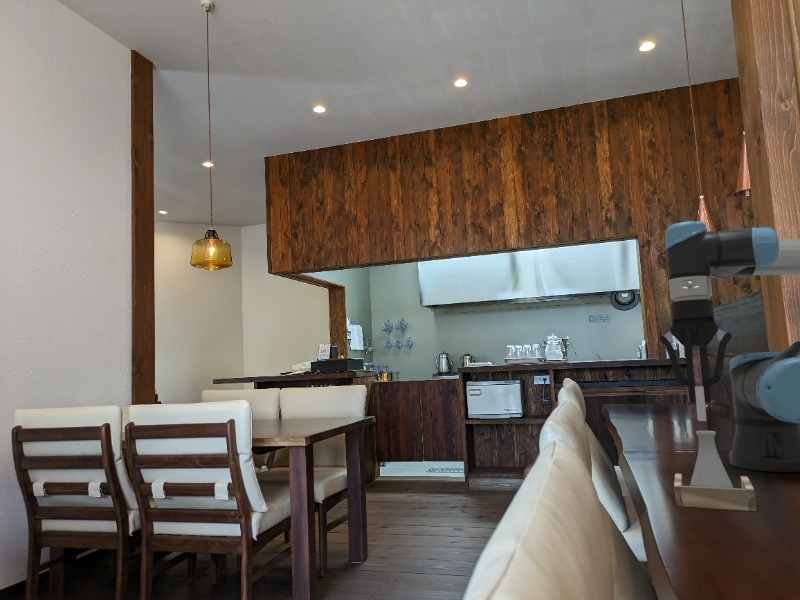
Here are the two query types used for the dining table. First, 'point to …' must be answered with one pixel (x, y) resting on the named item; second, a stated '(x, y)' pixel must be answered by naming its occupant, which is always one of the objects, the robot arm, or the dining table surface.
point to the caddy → (715, 496)
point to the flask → (709, 464)
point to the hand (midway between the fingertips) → (702, 420)
